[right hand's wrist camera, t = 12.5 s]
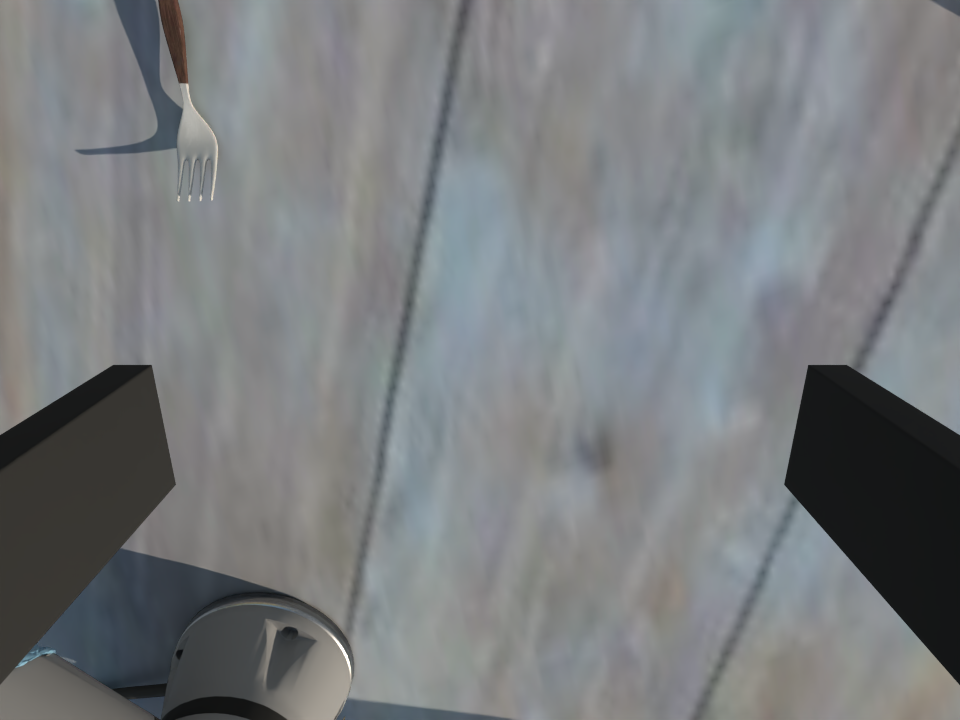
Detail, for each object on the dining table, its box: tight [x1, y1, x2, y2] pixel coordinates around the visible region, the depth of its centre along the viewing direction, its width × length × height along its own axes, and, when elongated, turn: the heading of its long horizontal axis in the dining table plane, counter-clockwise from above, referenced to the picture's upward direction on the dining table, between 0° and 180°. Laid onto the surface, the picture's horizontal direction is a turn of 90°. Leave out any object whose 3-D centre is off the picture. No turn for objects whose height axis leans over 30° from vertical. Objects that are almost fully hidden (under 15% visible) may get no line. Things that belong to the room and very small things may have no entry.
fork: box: [158, 0, 218, 202], centre depth 36 cm, size 3×16×2 cm, turn 2°
